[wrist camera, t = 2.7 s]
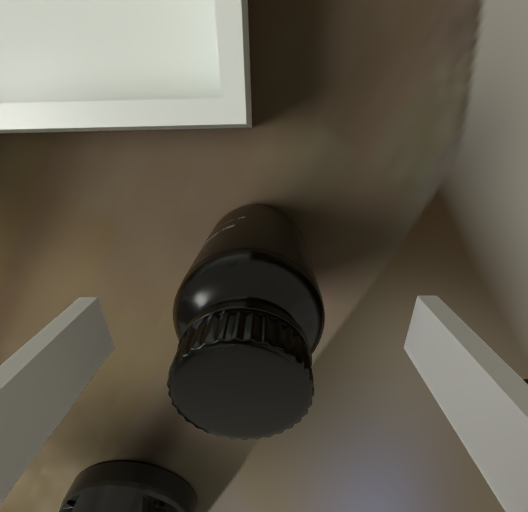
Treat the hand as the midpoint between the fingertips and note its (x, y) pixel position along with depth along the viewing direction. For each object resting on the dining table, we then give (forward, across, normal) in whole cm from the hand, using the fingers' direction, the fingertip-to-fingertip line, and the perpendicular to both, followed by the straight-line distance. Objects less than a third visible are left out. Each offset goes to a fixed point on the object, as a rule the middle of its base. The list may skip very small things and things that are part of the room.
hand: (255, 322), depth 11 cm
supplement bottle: (+9, 0, 0) cm, 9 cm away
